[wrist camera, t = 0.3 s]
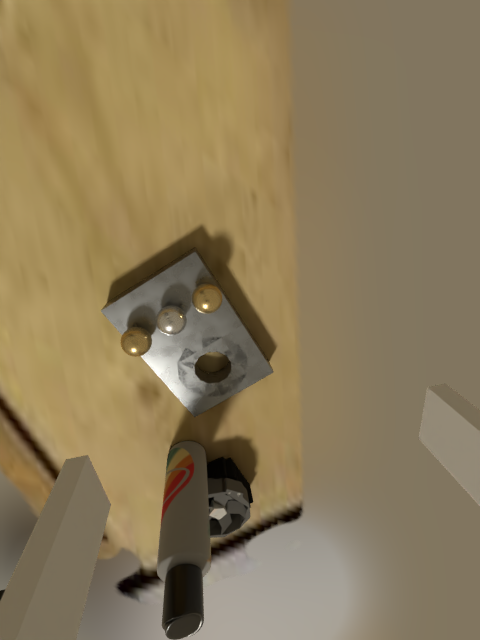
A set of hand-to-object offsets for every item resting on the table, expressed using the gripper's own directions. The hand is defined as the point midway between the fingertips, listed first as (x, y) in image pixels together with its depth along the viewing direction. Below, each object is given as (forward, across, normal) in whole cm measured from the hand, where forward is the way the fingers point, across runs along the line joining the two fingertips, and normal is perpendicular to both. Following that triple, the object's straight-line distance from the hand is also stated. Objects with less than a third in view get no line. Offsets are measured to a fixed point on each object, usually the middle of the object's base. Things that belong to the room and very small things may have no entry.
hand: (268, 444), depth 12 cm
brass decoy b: (+22, -2, -1) cm, 22 cm away
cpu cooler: (+26, -6, -34) cm, 43 cm away
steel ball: (+22, -6, -3) cm, 22 cm away
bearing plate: (+26, -4, -7) cm, 27 cm away
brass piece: (+22, -10, -5) cm, 24 cm away
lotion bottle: (+26, -9, -27) cm, 38 cm away
